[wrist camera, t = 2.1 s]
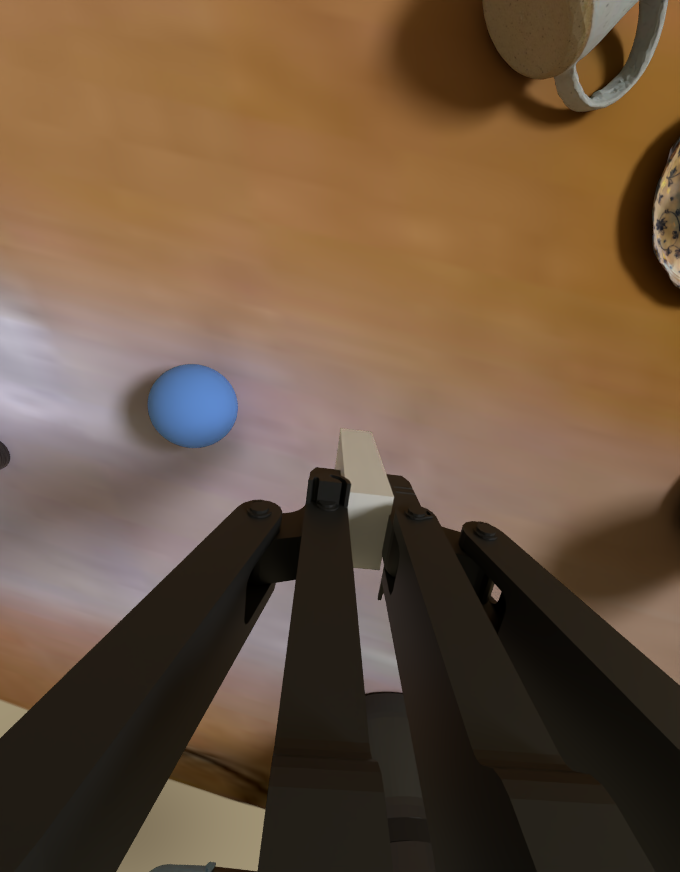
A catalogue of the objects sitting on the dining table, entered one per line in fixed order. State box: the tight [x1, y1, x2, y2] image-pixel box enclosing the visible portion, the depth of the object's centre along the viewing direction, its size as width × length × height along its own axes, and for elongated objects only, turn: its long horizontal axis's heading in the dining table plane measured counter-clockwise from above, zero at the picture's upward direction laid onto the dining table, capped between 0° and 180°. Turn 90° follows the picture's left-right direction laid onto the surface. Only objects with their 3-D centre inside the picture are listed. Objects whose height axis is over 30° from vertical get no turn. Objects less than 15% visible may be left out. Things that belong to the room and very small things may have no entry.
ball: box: [148, 364, 238, 448], centre depth 24 cm, size 6×6×6 cm
